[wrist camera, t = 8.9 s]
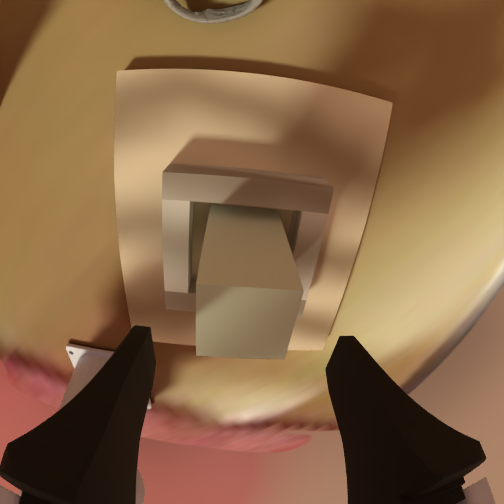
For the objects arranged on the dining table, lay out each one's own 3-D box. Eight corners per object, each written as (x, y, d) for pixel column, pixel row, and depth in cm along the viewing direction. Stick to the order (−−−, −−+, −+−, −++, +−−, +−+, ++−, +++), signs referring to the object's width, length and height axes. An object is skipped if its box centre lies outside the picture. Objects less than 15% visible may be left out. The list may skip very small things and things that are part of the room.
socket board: (320, 341, 26) (327, 367, 23) (136, 330, 24) (128, 356, 21) (385, 101, 16) (409, 105, 13) (123, 71, 14) (103, 69, 12)
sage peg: (268, 266, 20) (284, 359, 13) (207, 261, 20) (196, 355, 13) (277, 209, 18) (303, 290, 11) (210, 204, 18) (195, 283, 11)
